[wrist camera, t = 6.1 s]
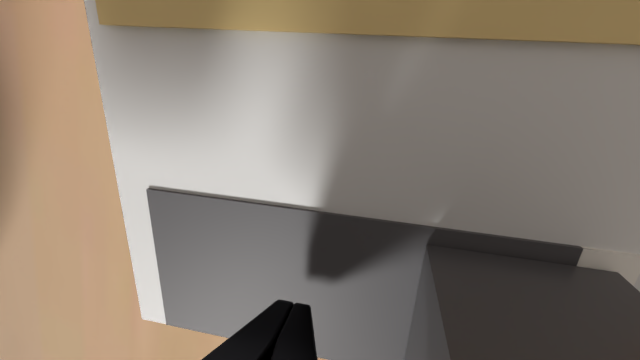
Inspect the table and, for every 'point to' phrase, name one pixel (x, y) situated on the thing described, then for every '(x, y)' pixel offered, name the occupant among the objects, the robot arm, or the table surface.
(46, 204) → the table surface
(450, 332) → the block
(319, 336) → the board
